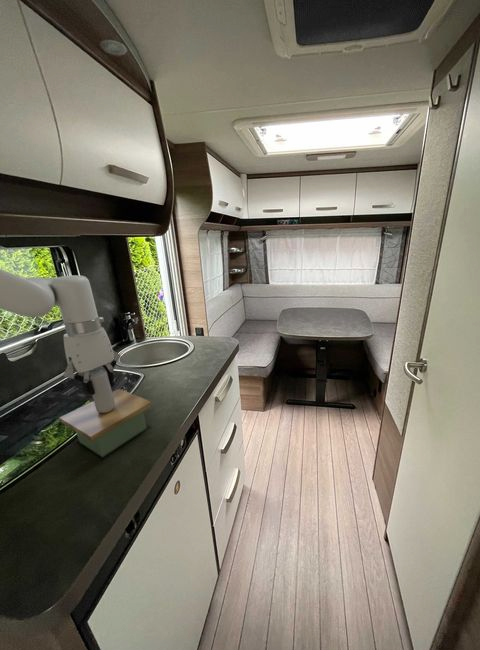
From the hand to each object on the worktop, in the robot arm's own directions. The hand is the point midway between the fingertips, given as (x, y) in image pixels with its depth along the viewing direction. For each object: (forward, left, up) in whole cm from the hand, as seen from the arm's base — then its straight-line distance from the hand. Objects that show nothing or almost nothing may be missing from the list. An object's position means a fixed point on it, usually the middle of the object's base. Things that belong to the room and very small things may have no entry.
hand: (100, 388), depth 77 cm
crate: (0, 0, -16) cm, 16 cm away
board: (0, 0, -8) cm, 8 cm away
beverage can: (0, 0, -7) cm, 7 cm away
